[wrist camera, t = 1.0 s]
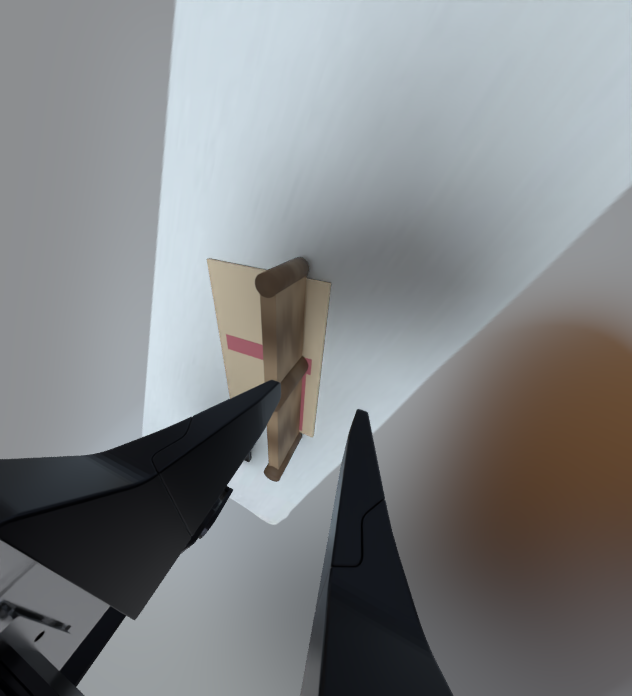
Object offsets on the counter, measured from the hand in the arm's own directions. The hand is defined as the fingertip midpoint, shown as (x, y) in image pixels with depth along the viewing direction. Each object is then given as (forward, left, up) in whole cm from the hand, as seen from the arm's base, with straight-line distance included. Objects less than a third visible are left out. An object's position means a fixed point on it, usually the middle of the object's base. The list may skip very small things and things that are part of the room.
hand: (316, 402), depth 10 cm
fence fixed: (-15, +6, -12) cm, 20 cm away
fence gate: (-2, +6, -11) cm, 13 cm away
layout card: (-9, +10, -12) cm, 18 cm away
